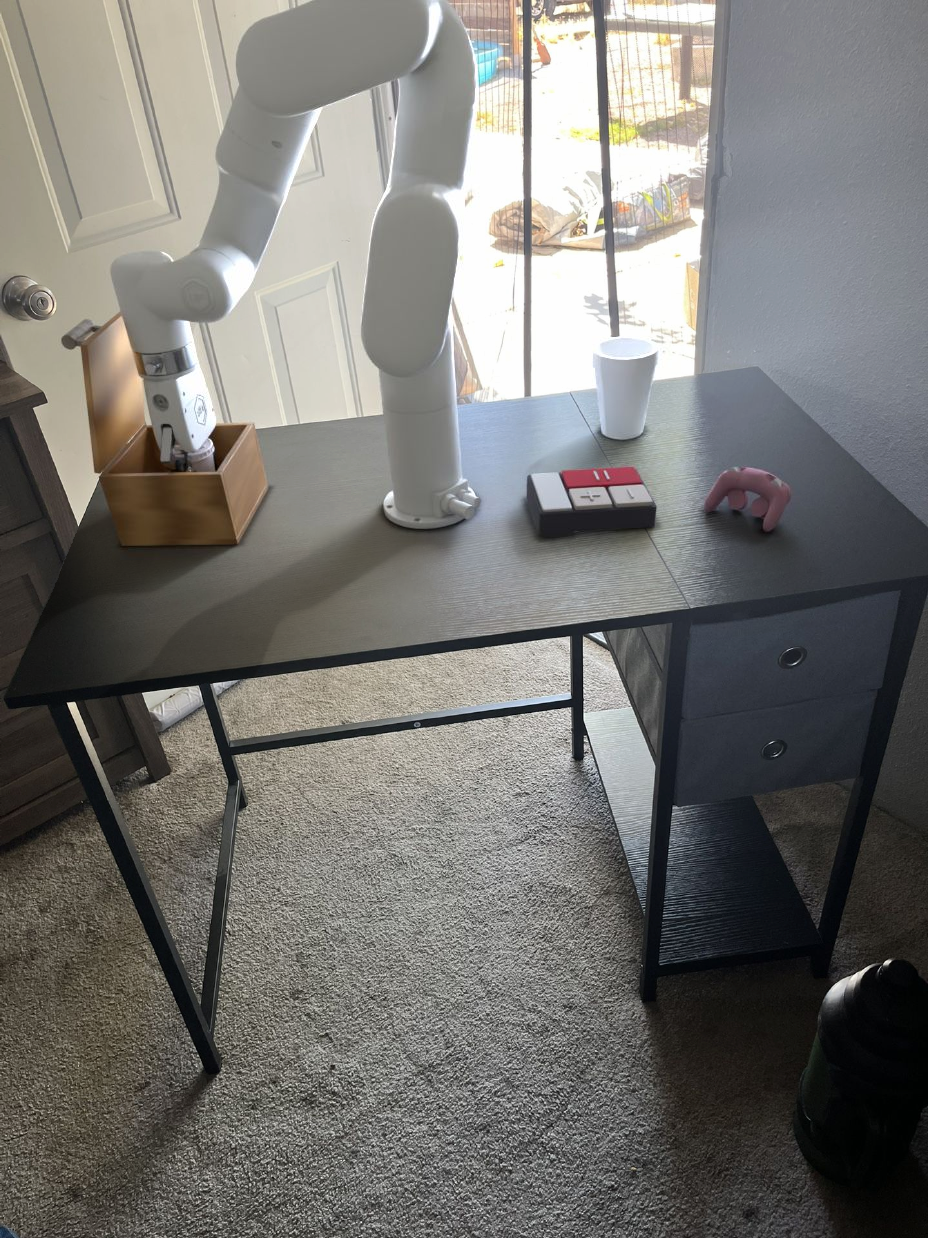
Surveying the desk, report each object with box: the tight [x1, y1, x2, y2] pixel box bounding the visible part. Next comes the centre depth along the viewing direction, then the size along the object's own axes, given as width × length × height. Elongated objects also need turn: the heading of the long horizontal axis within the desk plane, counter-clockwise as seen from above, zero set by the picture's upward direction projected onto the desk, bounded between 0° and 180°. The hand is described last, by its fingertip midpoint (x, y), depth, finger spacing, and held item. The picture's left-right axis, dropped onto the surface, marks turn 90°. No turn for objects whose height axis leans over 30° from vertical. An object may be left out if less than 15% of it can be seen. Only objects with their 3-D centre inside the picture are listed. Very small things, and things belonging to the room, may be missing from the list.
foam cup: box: [591, 336, 659, 440], centre depth 137 cm, size 10×9×13 cm
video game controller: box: [703, 466, 792, 533], centre depth 117 cm, size 10×5×7 cm, turn 47°
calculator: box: [526, 466, 658, 539], centre depth 120 cm, size 11×4×15 cm
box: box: [98, 421, 269, 547], centre depth 125 cm, size 16×16×10 cm
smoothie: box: [175, 438, 215, 472], centre depth 123 cm, size 6×6×14 cm
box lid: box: [60, 311, 146, 475], centre depth 118 cm, size 17×16×5 cm
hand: (199, 485), depth 125 cm, fingers closed on smoothie, 6 cm apart
